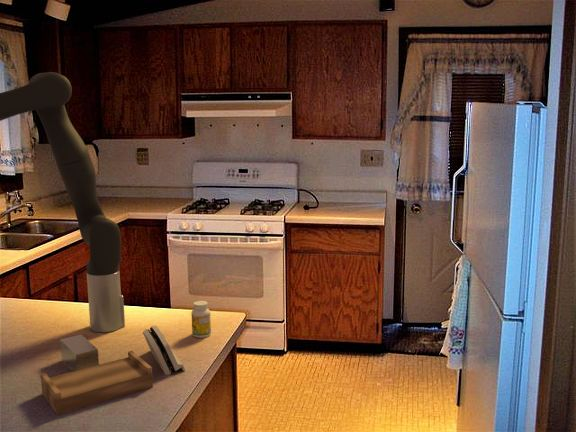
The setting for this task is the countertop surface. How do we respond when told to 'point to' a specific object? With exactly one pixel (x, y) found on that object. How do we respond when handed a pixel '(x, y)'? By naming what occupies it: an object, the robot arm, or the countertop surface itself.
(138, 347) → the countertop surface
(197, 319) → the supplement bottle
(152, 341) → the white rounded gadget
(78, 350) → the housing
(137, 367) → the stand
